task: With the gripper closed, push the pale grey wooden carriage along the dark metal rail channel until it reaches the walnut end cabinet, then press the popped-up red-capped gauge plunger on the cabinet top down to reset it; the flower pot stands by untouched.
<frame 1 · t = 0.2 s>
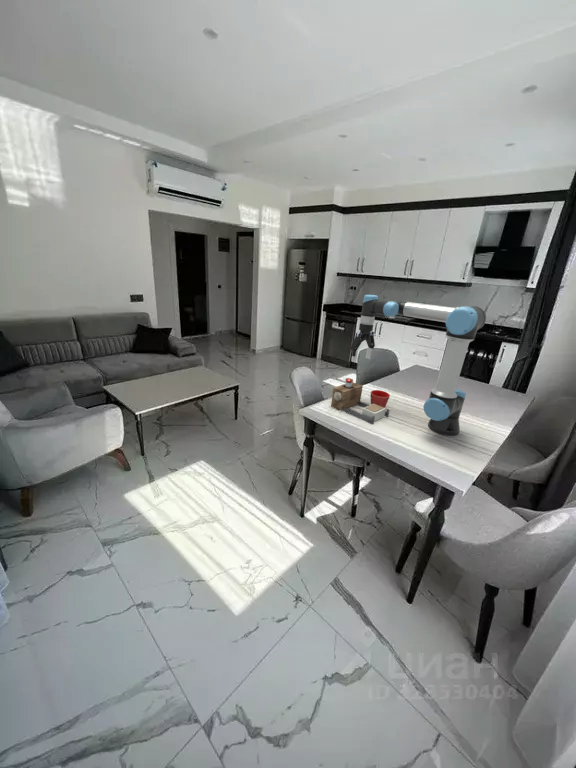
hand: (360, 360, 182), 28 cm above the table, fingers open, 13 cm apart
flower pot: (377, 408, 187), on the table
rail channel: (365, 413, 179), on the table
end cabinet: (345, 405, 188), on the table
gauge plunger: (348, 385, 184), point 12 cm above the table, slide at 0.0 cm
carriage: (373, 412, 174), point 3 cm above the table, slide at 0.0 cm
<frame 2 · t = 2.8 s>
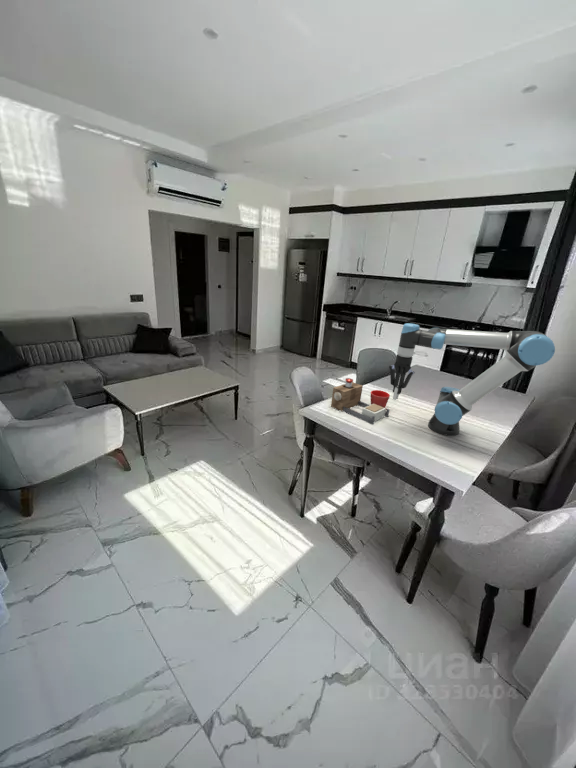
hand: (395, 398, 163), 15 cm above the table, fingers closed
nothing on the table moved.
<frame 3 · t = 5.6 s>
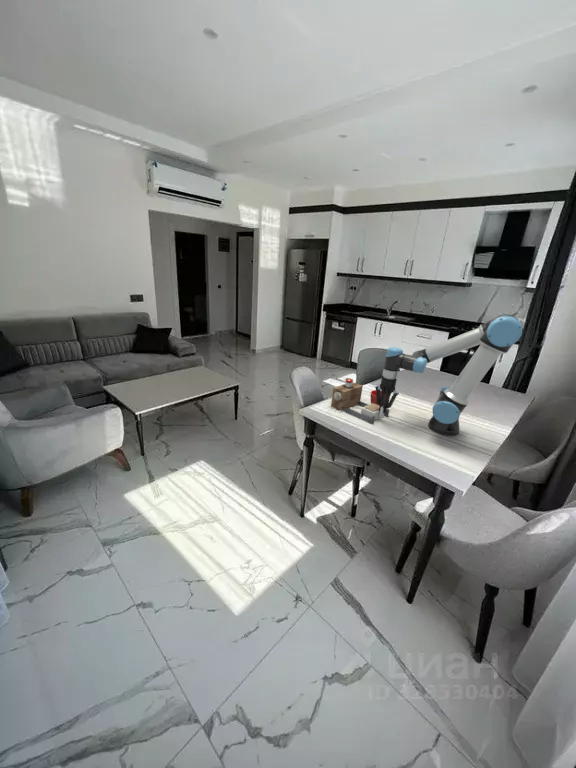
hand: (381, 417, 171), 2 cm above the table, fingers closed
carriage: (372, 411, 175), point 3 cm above the table, slide at 0.6 cm, touching gripper
everything else where it was.
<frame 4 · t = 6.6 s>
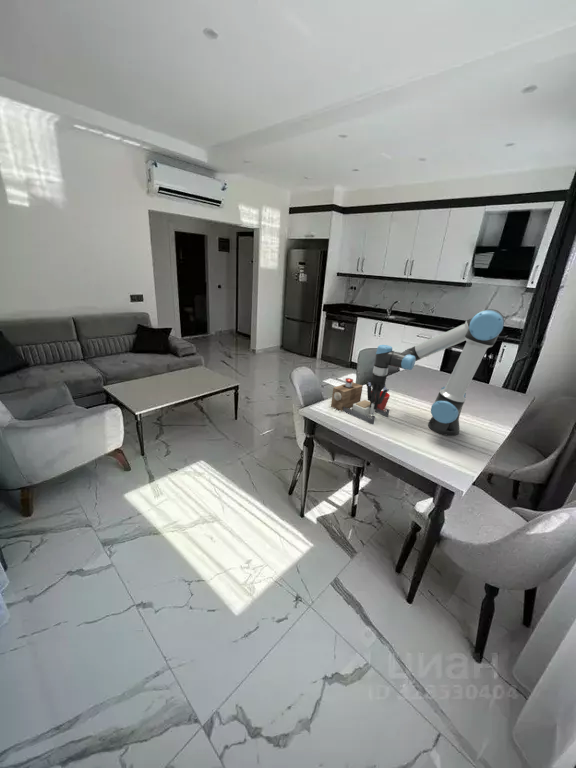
hand: (372, 413, 175), 2 cm above the table, fingers closed
carriage: (364, 407, 178), point 3 cm above the table, slide at 6.4 cm, touching gripper
everything else where it was.
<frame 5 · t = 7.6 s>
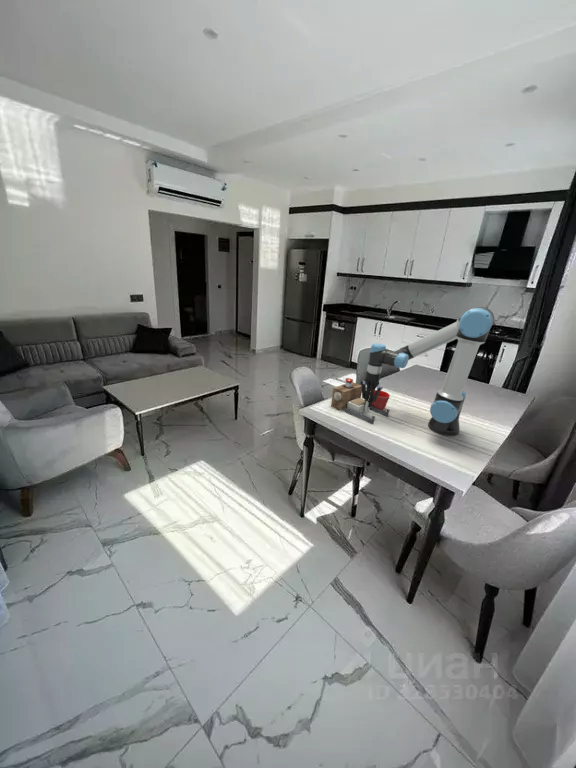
hand: (366, 411, 178), 2 cm above the table, fingers closed
carriage: (358, 405, 181), point 3 cm above the table, slide at 10.1 cm, touching gripper
everything else where it was.
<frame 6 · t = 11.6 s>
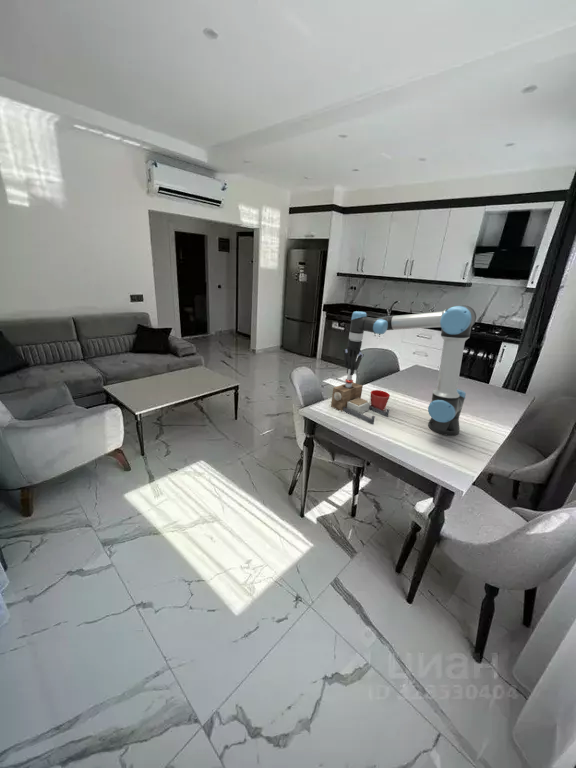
hand: (349, 379, 182), 16 cm above the table, fingers closed
gauge plunger: (348, 386, 184), point 12 cm above the table, slide at 0.4 cm, touching gripper
carriage: (358, 405, 181), point 3 cm above the table, slide at 10.3 cm
everything else where it was.
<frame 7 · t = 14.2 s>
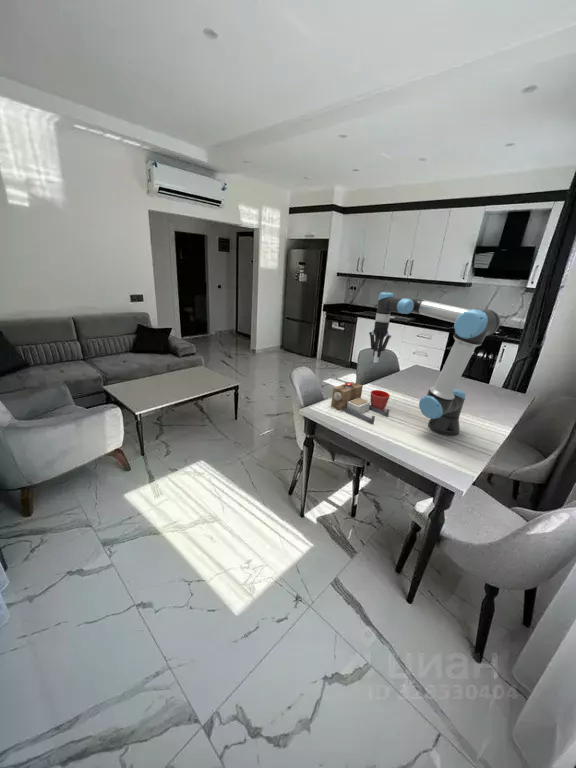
hand: (375, 362, 182), 27 cm above the table, fingers closed
gauge plunger: (347, 389, 184), point 10 cm above the table, slide at 2.5 cm
everything else where it was.
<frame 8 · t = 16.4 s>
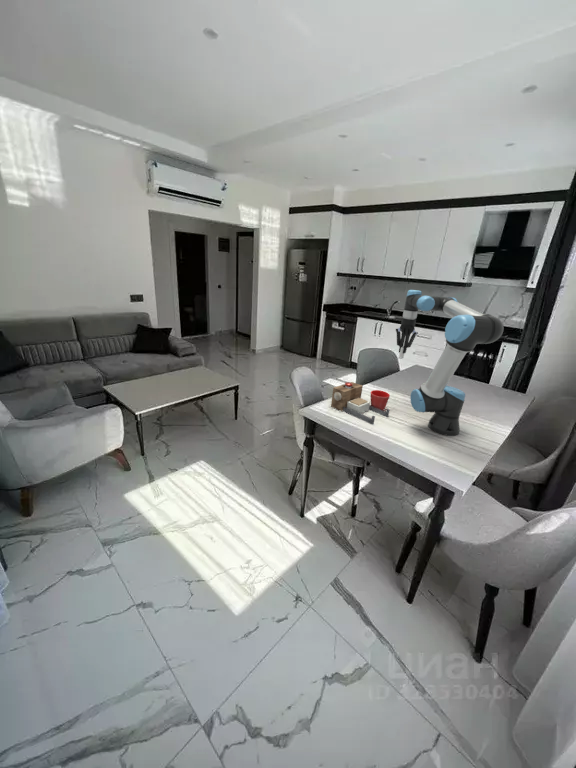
hand: (401, 358, 186), 29 cm above the table, fingers closed
nothing on the table moved.
at the end: carriage slide at 10.3 cm; gauge plunger slide at 2.5 cm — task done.
